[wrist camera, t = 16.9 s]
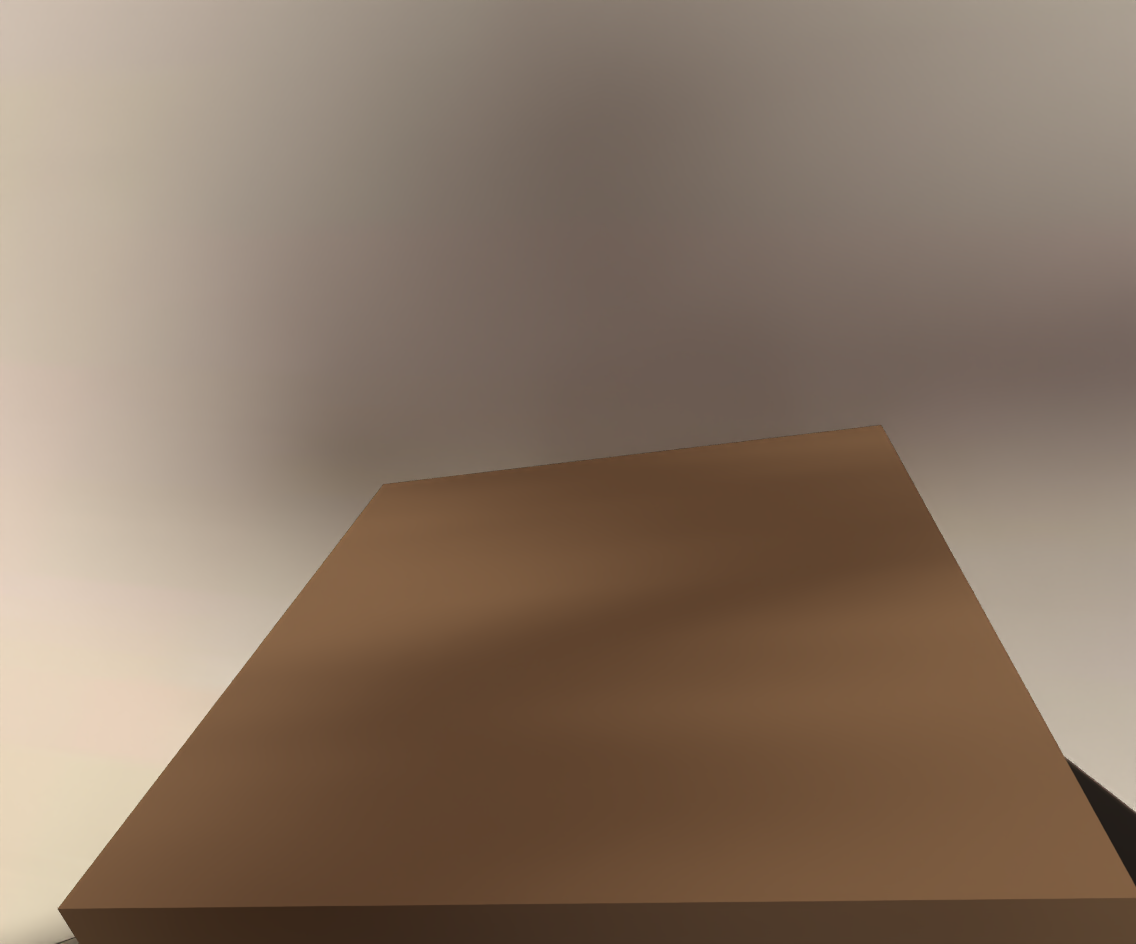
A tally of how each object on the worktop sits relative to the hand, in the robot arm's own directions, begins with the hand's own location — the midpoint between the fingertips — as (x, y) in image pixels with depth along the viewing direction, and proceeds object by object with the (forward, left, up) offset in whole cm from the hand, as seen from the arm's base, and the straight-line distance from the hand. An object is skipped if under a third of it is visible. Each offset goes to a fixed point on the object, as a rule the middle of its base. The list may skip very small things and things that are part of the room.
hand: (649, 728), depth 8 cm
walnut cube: (0, 0, -1) cm, 1 cm away
